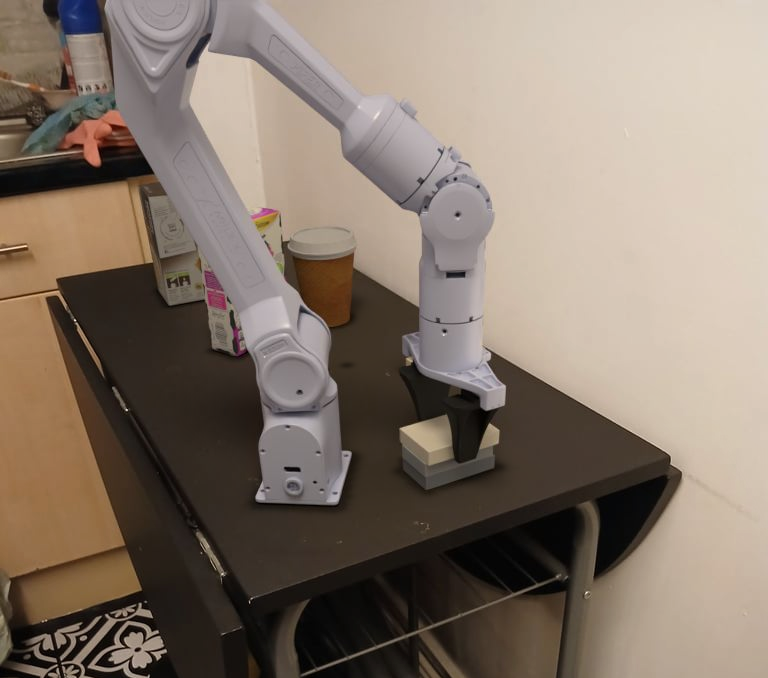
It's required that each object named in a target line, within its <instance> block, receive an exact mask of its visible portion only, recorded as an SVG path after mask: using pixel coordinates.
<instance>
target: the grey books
mask: <svg viewBox="0 0 768 678" xmlns="http://www.w3.org/2000/svg"><path fill="white" fill-rule="evenodd" d="M493 452H494V445H493V446H490V447H487V448H483V449H480V450H479V451H478V454H477V457H476V459H473V460H470V461H467V462H464V463H461V464H459V463H457V462H456V461H455V459H454V458H452V459H449V460H446V461H443V462H440V463H437V464H433V465H430V466H428V465H427V464H426V463H425V462H423V461H422V460H421V459H420V458H419V457H418V456H416V455H415V454H414V453H413V452H412V451H410V450H409V449H408V448H407V447H406V446H405V445H403V444H402V445H401V455H402V456H401V457H402V471H404V472H405V473H406V474H407V475H408V476H409V477H410V478H411V479H412V480H414V481H415V482H416V483H417V484H418V485H419V486H420V487H421V488H423V489H424V490H425V491H429V490H432V489H434V488H438V487H441V486H444V485H447V484H449V483H452V482H455V481H459V480H463V479H465V478H468V477H471V476H474V475H477V474H480V473H483V472H486V471H489V470H492V469H495V464H496V463H495V462H496V455H495V454H494V453H493Z"/></svg>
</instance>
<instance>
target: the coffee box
mask: <svg viewBox="0 0 768 678" xmlns="http://www.w3.org/2000/svg"><path fill="white" fill-rule="evenodd" d="M137 191H138V195H139V202H140V207H141V210H142V216H143V220H144V225H145V230H146V235H147V241H148V244H149V250H150V255H151V260H152V265H153V270H154V275H155V280H156V285H157V291H158V293H160V295H161V297H162V298H163V299H164V302H166V304H167V305H168V306H170V307H171V306H177V305H182V304H188V303H193V302H200V301H205V294H204V287H203V282H202V275H201V268H200V261H199V254H198V247H197V244H196V242H195V241H194V239H193V237H192V236H191V234H190V232H189V231H188V229H187V227H186V226H185V224H184V222H183V220H182V219H181V217H180V215H179V214H178V212H177V210H176V209H175V207H174V205H173V204H172V202H171V200H170V198H169V197H168V195H167V193H166V192H165V190H164V188H163V187H162V185H161V183H160V182H159V181H155V182H154V181H153V182H149V183H142V184H137Z"/></svg>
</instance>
